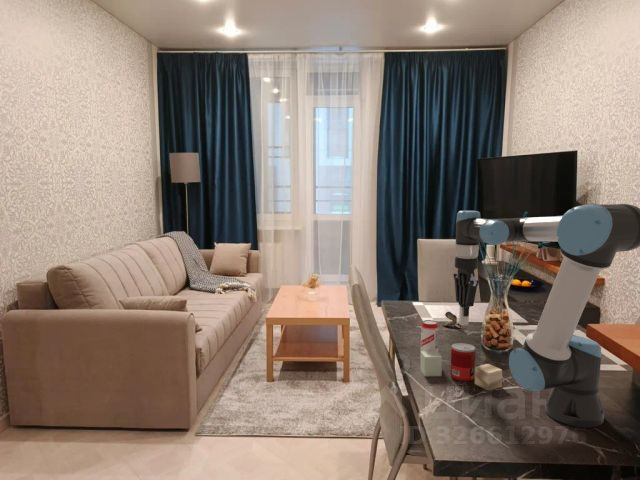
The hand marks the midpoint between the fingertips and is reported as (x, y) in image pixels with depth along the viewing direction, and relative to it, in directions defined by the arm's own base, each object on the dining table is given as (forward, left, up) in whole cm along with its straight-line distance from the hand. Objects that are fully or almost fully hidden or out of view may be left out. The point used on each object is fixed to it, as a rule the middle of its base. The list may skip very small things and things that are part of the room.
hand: (463, 324), depth 167 cm
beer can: (+14, +6, -19) cm, 24 cm away
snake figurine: (+55, -25, -19) cm, 63 cm away
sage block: (+6, +9, -19) cm, 22 cm away
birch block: (-8, -5, -19) cm, 21 cm away
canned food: (0, 0, -19) cm, 19 cm away
